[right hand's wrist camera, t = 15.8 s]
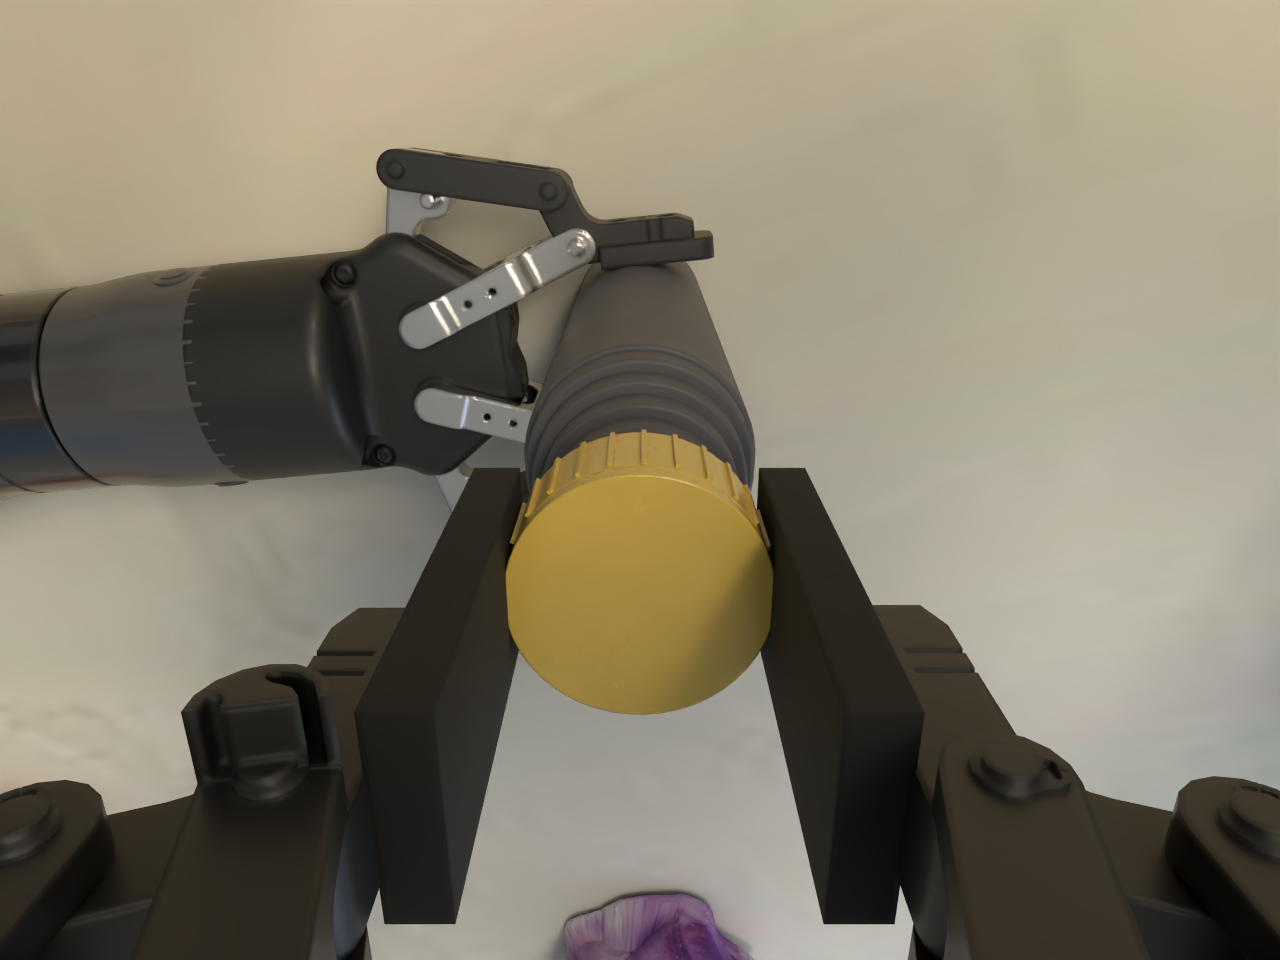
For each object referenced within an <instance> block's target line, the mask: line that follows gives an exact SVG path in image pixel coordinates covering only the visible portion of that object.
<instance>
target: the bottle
mask: <svg viewBox="0 0 1280 960" xmlns="http://www.w3.org/2000/svg"><path fill="white" fill-rule="evenodd" d="M641 430H647V433H656V434H663V435H669V436H672V434H676V435H678V438H680V439H683V440H685V441H688V442H690V443H693V444H695V445H698V446H699V447H701V445H704V446H705V447H706V448H707V451H708V452H710V453H712V454H713V455H714V456H715V457H717V458H718V459H719V460H721V461H722V462H723V463H726V462H728V463H729V464H730V465H731V468H732V471H733V473H734V474H735V475H736V476H737V477H738V479H739V480H740V481H741V483H742V484H743V485H745V484H747V485H748V487H749V489H750V492H751V487H752V483H753V477H754V463H755V440H754V434H753V429H752V424H751V421H750V419H749V416H748V413H747V410H746V408H745V405H744V403H743V400H742V397H741V395H740V392H739V389H738V387H737V384H736V382H735V379H734V376H733V374H732V371H731V369H730V366H729V363H728V361H727V358H726V356H725V353H724V350H723V348H722V345H721V343H720V340H719V337H718V335H717V332H716V329H715V327H714V324H713V322H712V319H711V316H710V314H709V311H708V309H707V306H706V303H705V301H704V298H703V296H702V293H701V290H700V288H699V285H698V283H697V280H696V277H695V275H694V273H693V272H692V270H691V268H690V267H689V265H688V264H687V263H686V262H685V261H684V262H674V263H664V264H655V265H645V266H631V267H625V268H615V269H605V270H601V263H593V264H592V266H591V267H590V268H589V270H588V272H587V274H586V275H585V278H584V280H583V283H582V285H581V288H580V291H579V293H578V296H577V298H576V301H575V304H574V306H573V309H572V311H571V314H570V317H569V319H568V322H567V324H566V327H565V330H564V332H563V335H562V337H561V340H560V342H559V345H558V348H557V350H556V353H555V355H554V358H553V361H552V363H551V366H550V368H549V371H548V374H547V376H546V379H545V381H544V384H543V386H542V389H541V392H540V394H539V397H538V399H537V402H536V405H535V407H534V410H533V412H532V415H531V418H530V420H529V424H528V428H527V432H526V439H525V465H526V478H527V484H528V489H529V492H530V495H531V492H532V489H533V485H534V482H535V480H536V479H537V478H539V479H541V478H542V477H543V476H544V474H545V473H546V472H547V471H548V470H549V469H550V468H551V467H552V466H553V465H554V461H555V459H556V458H557V457H559V458H560V459H561V458H563V457H564V456H566V455H567V454H568V453H570V452H571V451H573V450H575V449H577V448H579V447H580V443H582V442H584V441H585V442H586V443H589V442H592V441H594V440H597V439H600V438H603V437H607V436H610V433H612V432H615V435H616V434H623V433H633V432H640V433H641Z"/></svg>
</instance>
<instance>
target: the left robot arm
mask: <svg viewBox="0 0 1280 960" xmlns="http://www.w3.org/2000/svg"><path fill="white" fill-rule="evenodd" d="M376 169H377V174H378V177H379V179H380V180H381V182H382V183H383V184H384V185H385V186H387V213H386V234H384V235H382V236H380V237H378V238H376V239H375V240H374V241H373V242H371V243H370V244H369V245H367V246H366V247H364V248H363V249H359V250H354V251H347V252H337V253H327V254H317V255H308V256H298V257H288V258H279V259H269V260H259V261H249V262H239V263H229V264H220V265H213V266H203V267H192V268H178V269H172V270H161V271H153V272H146V273H140V274H136V275H131V276H127V277H122V278H118V279H115V280H111V281H107V282H104V283H99V284H94V285H88V286H82V287H71V288H61V289H51V290H42V291H32V292H22V293H12V294H5V295H0V501H2V500H5V499H8V498H10V497H13V496H16V495H21V494H33V493H44V492H58V491H68V490H79V489H90V488H100V487H111V486H121V485H149V486H172V487H179V486H196V485H208V484H214V485H218V486H232V485H239V484H244V483H248V482H249V481H252V480H262V479H273V478H284V477H294V476H305V475H316V474H327V473H337V472H348V471H359V470H369V469H376V468H383V467H390V466H399V467H405V468H409V469H412V470H415V471H417V472H420V473H422V474H426V475H431V476H435V478H436V480H437V482H438V484H439V486H440V489H441V491H442V493H443V495H444V497H445V499H446V502H447V504H448V506H449V508H450V510H451V512H453V510H454V508H455V506H456V504H457V502H458V500H459V498H460V496H461V494H462V492H463V489H464V487H465V485H466V483H467V481H468V479H469V477H470V475H471V473H472V471H473V469H472V468H470V467H468V466H467V465H466V464H465V463H464V461H465V460H466V459H467V458H468V457H469V456H470V455H472V454H473V453H474V452H475V451H476V450H477V449H478V448H479V447H481V446H482V445H483V444H484V443H485V442H486V441H487V440H488V439H490V438H491V437H492V436H497V437H501V438H505V439H509V440H513V441H517V442H521V443H525V439H526V432H527V428H528V424H529V420H530V418H531V415H532V412H533V410H534V407H535V405H536V402H537V399H538V397H539V394H540V392H541V389H542V386H543V384H541V383H537V382H533V381H529V379H528V372H527V365H526V361H525V359H524V356H523V354H522V352H521V349H520V347H519V345H518V342H517V336H518V327H519V312H518V306H517V301H518V300H520V299H522V298H524V297H526V296H528V295H530V294H531V293H533V292H535V291H536V290H538V289H539V288H541V287H543V286H545V285H547V284H549V283H551V282H553V281H555V280H557V279H559V278H561V277H563V276H565V275H566V274H568V273H570V272H572V271H574V270H576V269H578V268H580V267H582V266H584V265H586V264H592V263H601V270H605V269H615V268H625V267H631V266H645V265H655V264H664V263H674V262H684V261H694V260H703V259H709V258H713V257H714V246H713V235H712V233H711V232H710V231H707V230H702V231H694V224H693V220H692V218H691V217H688V216H685V215H682V214H678V213H668V214H659V215H648V216H639V217H629V218H620V219H610V220H600V219H597V218H594V217H593V216H591V215H590V214H589V213H588V212H587V211H586V210H585V209H584V207H583V205H582V203H581V201H580V199H579V197H578V195H577V193H576V191H575V188H574V186H573V182H572V179H571V177H570V176H569V175H568V174H567V173H566V172H565V171H563V170H561V169H558V168H551V167H544V166H537V165H530V164H523V163H516V162H509V161H502V160H495V159H488V158H482V157H475V156H468V155H461V154H454V153H447V152H440V151H433V150H426V149H419V148H401V149H390V150H387V151H385V152H383V153H382V154H381V155H380V157H379V159H378V161H377V166H376ZM457 199H463V200H470V201H477V202H484V203H491V204H498V205H505V206H513V207H520V208H527V209H534V210H539V211H540V213H541V215H542V217H543V219H544V221H545V223H546V225H547V227H548V229H549V231H550V233H551V235H549V236H547V237H545V238H543V239H541V240H539V241H538V242H536V243H534V244H532V245H529V246H527V247H524V248H522V249H520V250H518V251H516V252H514V253H513V254H511V255H509V256H507V257H505V258H503V259H501V260H499V261H497V262H495V263H493V264H491V265H489V266H487V267H485V268H483V269H481V268H479V267H477V266H476V265H474V264H472V263H470V262H469V261H467V260H465V259H463V258H462V257H460V256H458V255H457V254H455V253H453V252H451V251H450V250H448V249H446V248H444V247H443V246H441V245H439V244H437V243H436V242H434V241H432V240H430V239H429V238H427V237H425V236H423V235H422V234H420V230H421V227H422V225H423V223H424V222H425V221H426V220H427V219H437V218H440V217H443V216H445V215H448V214H449V213H450V212H452V210H453V209H454V207H455V205H456V200H457ZM524 396H526V397H527V399H525V398H524ZM512 420H515V421H516V422H513V421H512ZM520 481H521V499H522V503H523V502H524V503H527V501H528V499H529V496H530V492H529V489H528V484H527V478H526V471H524V472H521V473H520Z"/></svg>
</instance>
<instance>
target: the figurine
mask: <svg viewBox="0 0 1280 960" xmlns="http://www.w3.org/2000/svg"><path fill="white" fill-rule="evenodd" d="M564 936H565V943H566V944H565V946H566V947H565V949H566V958H567V960H754V959H753V958H752V957H751V956H750V955H749V954H748V953H746V952H745V951H744V950H743V949H741V948H740V947H739V946H737V945H735V944H734V943H732V942H731V941H729V940H728V939H726V938H725V937H724V936H723V935H722V934H721V933H720V932H719V931H718V930H717V928H716V926H715V921H714V916H713V912H712V910H711V909H710V907H709V906H708V905H707V904H706V903H705V902H704V901H701V900H699V899H697V898H695V897H692V896H691V895H688V894H682V893H679V894H672V895H642V896H635V897H629V898H620V899H619V900H618V901H616V902H613V903H611V904H609V905H607V906H606V907H603V908H602V909H601V910H598V911H595V912H592V913H587V914H585V915H579V916H577V917H575V918H573V919H570V920H569V921H568V922H567V924H566V926H565V928H564Z"/></svg>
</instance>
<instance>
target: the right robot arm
mask: <svg viewBox="0 0 1280 960" xmlns="http://www.w3.org/2000/svg"><path fill="white" fill-rule="evenodd" d="M521 506H522V499H521V481H520V468H474V469H473V471H472V473H471V475H470V477H469V479H468V481H467V483H466V485H465V487H464V489H463V492H462V494H461V496H460V498H459V500H458V502H457V504H456V506H455V508H454V510H453V512H452V514H451V516H450V518H449V520H448V522H447V524H446V526H445V528H444V530H443V532H442V534H441V536H440V538H439V540H438V542H437V544H436V546H435V549H434V551H433V553H432V555H431V557H430V559H429V561H428V563H427V565H426V567H425V569H424V571H423V573H422V575H421V577H420V579H419V581H418V583H417V585H416V587H415V589H414V591H413V593H412V595H411V597H410V599H409V601H408V603H407V605H406V608H358V609H357V610H356V611H354V612H353V613H352V614H350V615H349V616H347V617H346V618H345V619H343V620H342V621H340V622H339V623H338V624H336V625H335V626H334V627H332V628H331V630H330V631H329V633H328V634H327V636H326V638H325V639H324V641H323V642H322V644H321V646H320V647H319V649H318V651H317V656H314V657H313V659H312V660H311V662H310V663H309V665H308V667H304V666H300V665H297V664H269V665H264V666H259V667H254V668H250V669H245V670H241V671H239V672H236V673H234V674H231V675H229V676H226V677H224V678H221V679H219V680H216V681H215V682H213V683H212V684H210V685H209V686H207V687H206V688H204V689H203V690H201V691H200V692H198V693H197V694H195V695H194V696H193V697H192V699H191V700H190V701H189V702H188V704H187V705H186V706H185V708H184V709H183V710H182V711H181V714H182V719H183V723H184V727H185V731H186V736H187V740H188V744H189V749H190V753H191V757H192V761H193V766H194V770H195V774H196V779H197V783H198V784H197V787H196V789H195V792H194V794H192V795H190V796H187V797H183V798H180V799H176V800H173V801H170V802H166V803H161V804H157V805H152V806H148V807H143V808H139V809H134V810H130V811H125V812H121V813H116V814H111V815H106V811H105V808H104V804H103V801H102V797H101V795H100V794H99V793H98V792H97V791H95V790H94V789H93V788H92V787H91V786H90V785H89V784H84V783H79V782H74V781H69V780H61V781H51V782H41V783H35V784H32V785H28V786H24V787H22V788H17V789H14V790H11V791H9V792H5V793H3V794H1V795H0V960H372V956H371V950H370V943H369V937H368V930H367V922H368V919H369V916H370V913H371V910H372V907H373V904H374V901H375V898H376V896H377V893H378V890H379V889H380V896H381V903H382V910H383V916H384V923H385V924H455V923H456V919H457V915H458V910H459V906H460V902H461V897H462V893H463V889H464V884H465V880H466V876H467V871H468V867H469V863H470V859H471V854H472V850H473V846H474V841H475V837H476V833H477V828H478V824H479V820H480V815H481V811H482V807H483V802H484V798H485V794H486V790H487V785H488V781H489V777H490V772H491V768H492V764H493V759H494V755H495V751H496V746H497V742H498V738H499V733H500V729H501V725H502V720H503V716H504V712H505V708H506V703H507V699H508V695H509V690H510V686H511V682H512V677H513V673H514V669H515V664H516V660H517V656H518V651H519V649H518V647H517V646H516V644H515V642H514V640H513V638H512V636H511V633H510V630H509V622H508V606H507V591H506V567H507V563H508V559H509V556H510V553H511V550H512V546H513V544H512V543H510V540H511V537H512V534H513V531H514V527H515V524H516V521H517V518H518V515H519V512H520V509H521ZM758 509H759V511H760V514H761V517H762V520H763V524H764V527H765V530H766V533H767V536H768V539H769V543H770V551H769V555H770V558H771V561H772V565H773V572H774V573H773V591H772V607H771V622H770V631H769V634H768V636H767V639H766V641H765V643H764V645H763V646H762V648H761V650H760V651H761V656H762V660H763V664H764V668H765V673H766V677H767V681H768V686H769V690H770V694H771V699H772V703H773V707H774V712H775V716H776V720H777V725H778V729H779V733H780V738H781V742H782V746H783V751H784V755H785V759H786V763H787V768H788V772H789V776H790V781H791V785H792V789H793V794H794V798H795V802H796V807H797V811H798V815H799V820H800V824H801V828H802V833H803V837H804V841H805V845H806V850H807V854H808V858H809V863H810V867H811V871H812V876H813V880H814V884H815V889H816V893H817V897H818V902H819V906H820V910H821V915H822V919H823V923H824V924H895V917H896V910H897V903H898V896H899V889H900V886H901V888H902V891H903V894H904V897H905V900H906V903H907V906H908V909H909V912H910V914H911V917H912V920H913V923H914V924H913V930H912V937H911V943H910V950H909V956H908V960H1280V791H1279V790H1277V789H1274V788H1271V787H1268V786H1265V785H1263V784H1258V783H1255V782H1251V781H1248V780H1244V779H1237V778H1227V777H1217V776H1212V777H1207V778H1202V779H1197V780H1192V781H1190V782H1189V783H1188V784H1187V785H1186V786H1185V787H1183V788H1182V789H1181V790H1180V791H1179V793H1178V796H1177V800H1176V803H1175V807H1174V810H1173V812H1171V811H1167V810H1162V809H1157V808H1153V807H1148V806H1144V805H1139V804H1134V803H1130V802H1125V801H1121V800H1116V799H1112V798H1108V797H1105V796H1101V795H1098V794H1095V793H1091V792H1088V791H1086V790H1085V788H1084V785H1083V783H1082V781H1081V780H1080V778H1079V777H1078V775H1077V774H1076V772H1075V771H1074V770H1073V768H1072V767H1071V765H1070V764H1069V763H1067V762H1066V761H1065V760H1063V759H1062V758H1061V757H1060V756H1058V755H1057V754H1056V753H1054V752H1053V751H1052V750H1051V749H1049V748H1047V747H1045V746H1042V745H1040V744H1038V743H1036V742H1034V741H1031V740H1029V739H1027V738H1025V737H1021V736H1017V735H1016V733H1015V732H1014V730H1013V729H1012V727H1011V725H1010V724H1009V722H1008V721H1007V719H1006V717H1005V716H1004V714H1003V713H1002V711H1001V709H1000V708H999V706H998V705H997V703H996V701H995V700H994V698H993V697H992V695H991V693H990V692H989V690H988V689H987V687H986V685H985V684H984V682H983V681H982V679H981V677H980V676H979V674H978V673H975V671H974V669H975V668H974V666H973V665H972V663H971V661H970V660H969V658H968V657H967V655H966V653H963V652H962V647H961V645H960V644H959V642H958V641H957V639H956V637H955V636H954V634H953V633H952V631H951V629H950V628H949V626H948V625H947V624H945V623H944V622H943V621H941V620H940V619H939V618H937V617H936V616H934V615H933V614H932V613H930V612H929V611H927V610H926V609H925V608H923V607H922V606H920V605H872V604H871V602H870V600H869V597H868V595H867V593H866V591H865V589H864V587H863V585H862V583H861V581H860V579H859V577H858V575H857V573H856V571H855V569H854V567H853V565H852V563H851V561H850V559H849V557H848V555H847V553H846V551H845V549H844V547H843V545H842V542H841V540H840V538H839V536H838V534H837V532H836V530H835V528H834V526H833V524H832V522H831V520H830V518H829V516H828V514H827V512H826V510H825V508H824V506H823V504H822V502H821V500H820V498H819V496H818V494H817V492H816V490H815V488H814V485H813V483H812V481H811V479H810V477H809V475H808V473H807V471H806V469H805V468H759V481H758V499H757V510H758Z"/></svg>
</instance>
